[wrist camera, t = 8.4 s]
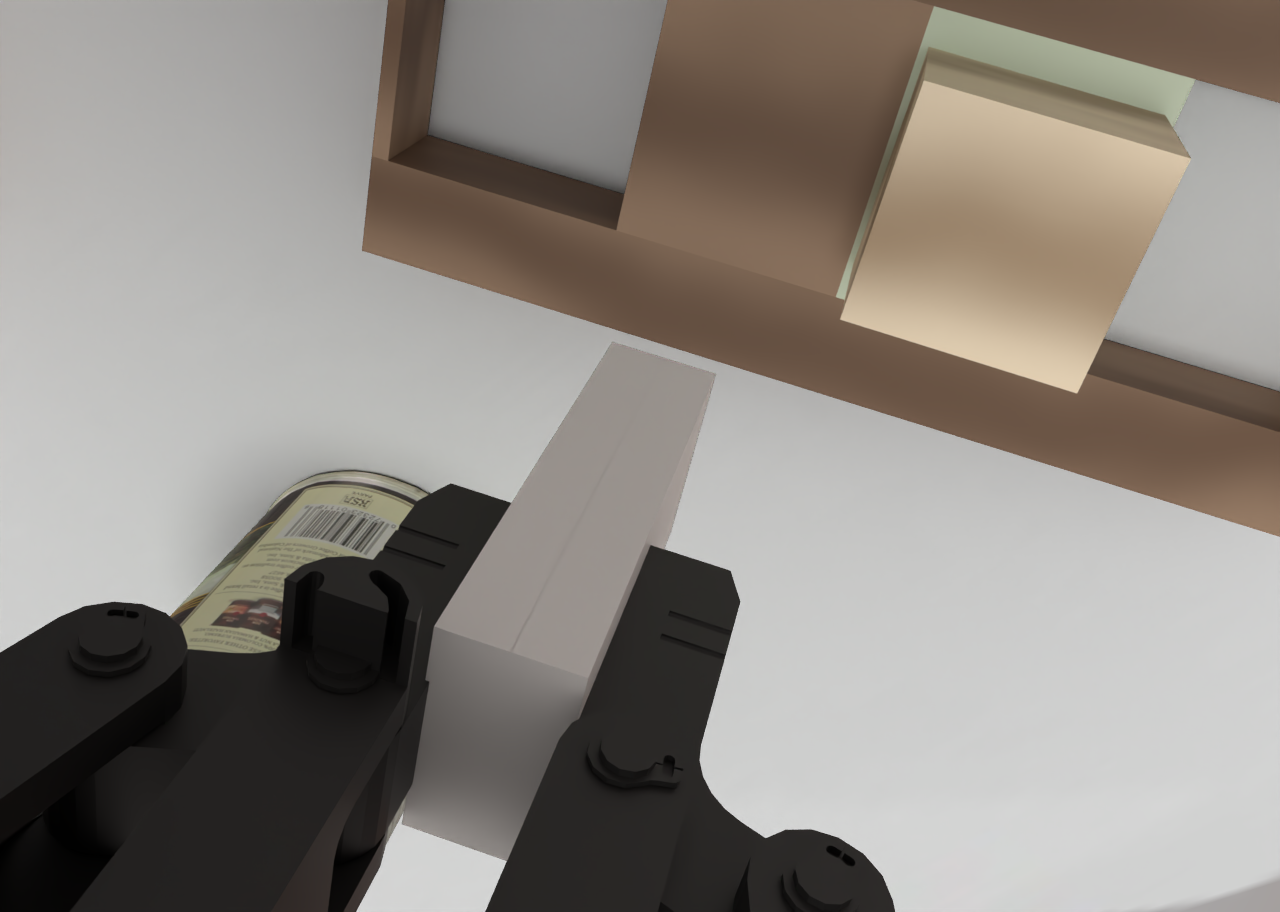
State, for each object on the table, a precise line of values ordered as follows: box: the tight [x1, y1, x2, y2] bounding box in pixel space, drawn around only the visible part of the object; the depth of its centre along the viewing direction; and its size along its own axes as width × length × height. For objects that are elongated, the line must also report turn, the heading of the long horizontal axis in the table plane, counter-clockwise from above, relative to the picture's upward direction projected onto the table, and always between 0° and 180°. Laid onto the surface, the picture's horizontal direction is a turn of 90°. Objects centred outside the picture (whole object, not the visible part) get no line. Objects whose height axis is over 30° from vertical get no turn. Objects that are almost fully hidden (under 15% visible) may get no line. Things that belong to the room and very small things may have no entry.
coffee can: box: [170, 471, 428, 844], centre depth 41 cm, size 10×10×14 cm
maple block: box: [840, 47, 1191, 393], centre depth 30 cm, size 6×6×4 cm
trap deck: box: [362, 0, 1280, 537], centre depth 33 cm, size 14×28×3 cm, turn 78°
